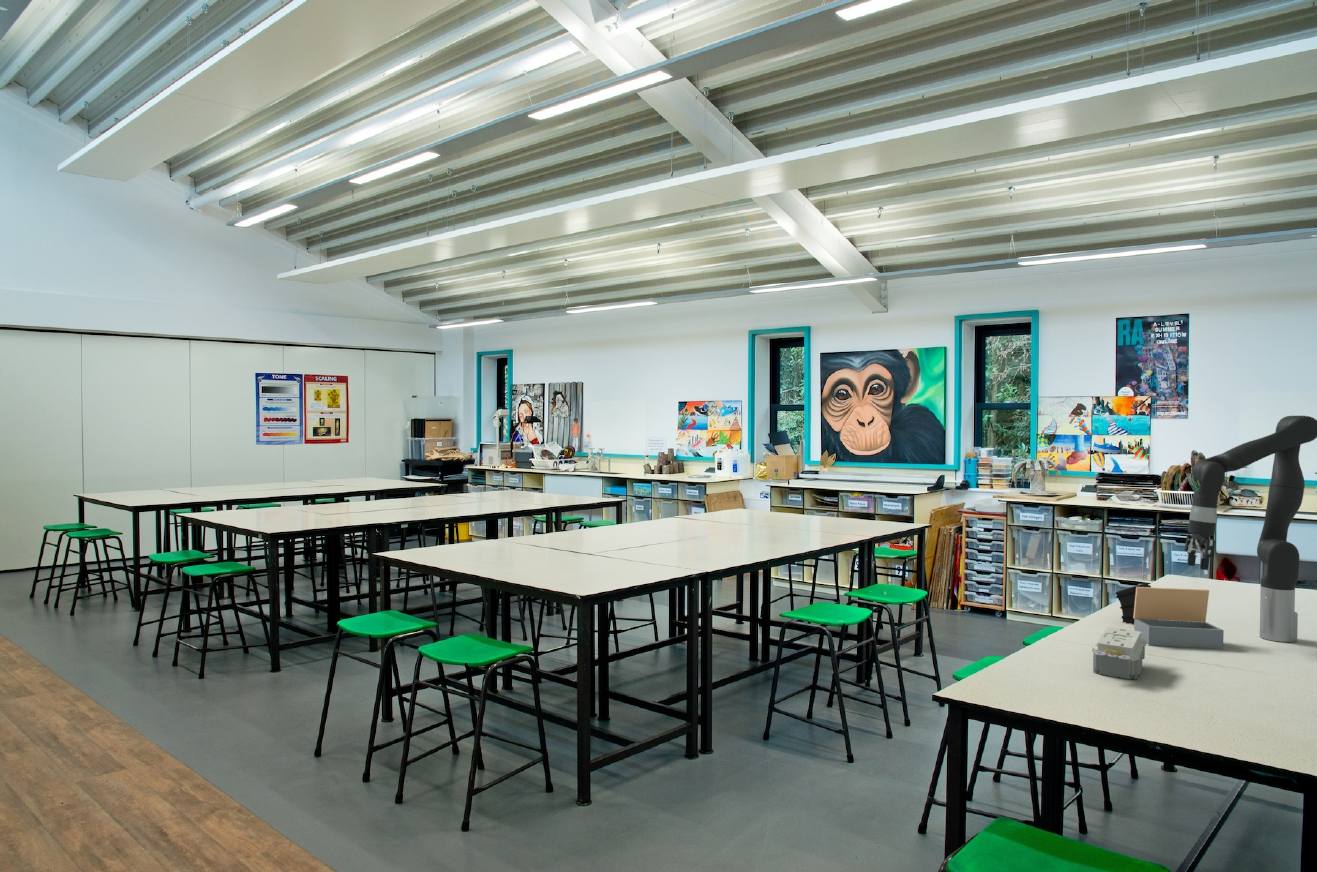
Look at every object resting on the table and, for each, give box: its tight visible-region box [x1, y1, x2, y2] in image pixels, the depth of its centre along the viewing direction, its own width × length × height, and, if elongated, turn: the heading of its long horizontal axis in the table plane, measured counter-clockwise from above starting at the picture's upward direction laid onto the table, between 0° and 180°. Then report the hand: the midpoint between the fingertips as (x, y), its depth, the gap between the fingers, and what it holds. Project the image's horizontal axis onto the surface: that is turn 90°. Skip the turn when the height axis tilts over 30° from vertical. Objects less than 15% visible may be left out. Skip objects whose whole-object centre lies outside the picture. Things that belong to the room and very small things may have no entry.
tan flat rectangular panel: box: [1133, 586, 1210, 622], centre depth 270 cm, size 22×11×1 cm
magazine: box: [1115, 582, 1152, 625], centre depth 291 cm, size 4×13×15 cm, turn 52°
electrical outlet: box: [1091, 626, 1147, 680], centre depth 234 cm, size 12×28×10 cm, turn 143°
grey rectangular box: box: [1133, 619, 1225, 650], centre depth 265 cm, size 22×11×6 cm, turn 81°
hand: (1197, 567), depth 274 cm, fingers open, 8 cm apart
